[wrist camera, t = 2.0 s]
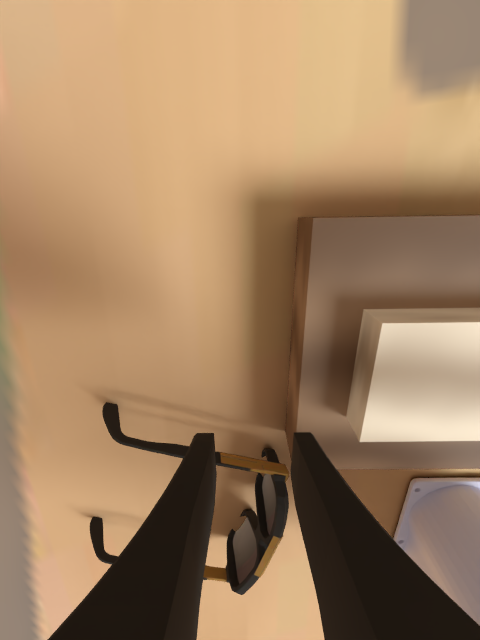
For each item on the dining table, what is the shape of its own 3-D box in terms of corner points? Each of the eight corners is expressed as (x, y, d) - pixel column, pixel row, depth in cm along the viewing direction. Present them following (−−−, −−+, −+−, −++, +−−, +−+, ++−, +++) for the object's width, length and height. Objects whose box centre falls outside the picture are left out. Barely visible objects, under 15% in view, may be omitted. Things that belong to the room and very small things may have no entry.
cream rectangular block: (509, 414, 16) (543, 440, 15) (346, 416, 17) (359, 441, 15) (556, 306, 14) (605, 320, 12) (363, 309, 14) (382, 323, 12)
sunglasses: (108, 398, 21) (70, 451, 16) (292, 439, 22) (306, 498, 18) (94, 513, 26) (62, 579, 21) (246, 541, 27) (248, 608, 23)
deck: (511, 429, 21) (560, 468, 18) (285, 431, 21) (293, 470, 18) (608, 212, 16) (707, 211, 12) (298, 217, 16) (313, 217, 12)
